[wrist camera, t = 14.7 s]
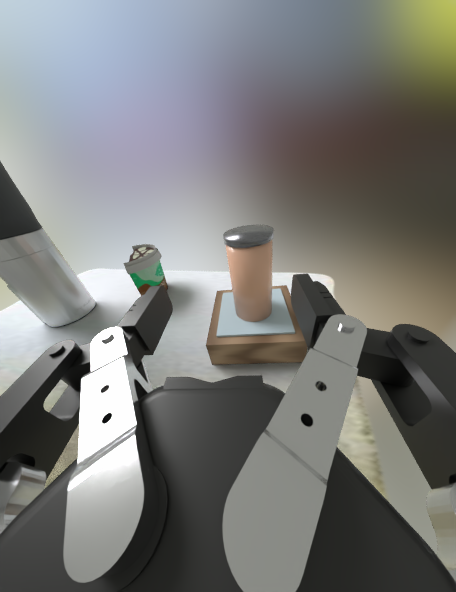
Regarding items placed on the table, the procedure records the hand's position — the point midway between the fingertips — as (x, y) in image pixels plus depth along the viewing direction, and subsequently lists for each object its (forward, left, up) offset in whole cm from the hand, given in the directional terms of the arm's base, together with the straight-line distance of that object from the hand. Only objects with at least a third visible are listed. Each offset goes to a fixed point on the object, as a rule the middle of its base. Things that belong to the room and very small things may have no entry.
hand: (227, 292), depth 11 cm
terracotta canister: (+2, +11, -10) cm, 15 cm away
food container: (-20, +26, -15) cm, 36 cm away
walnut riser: (+2, +11, -15) cm, 18 cm away
